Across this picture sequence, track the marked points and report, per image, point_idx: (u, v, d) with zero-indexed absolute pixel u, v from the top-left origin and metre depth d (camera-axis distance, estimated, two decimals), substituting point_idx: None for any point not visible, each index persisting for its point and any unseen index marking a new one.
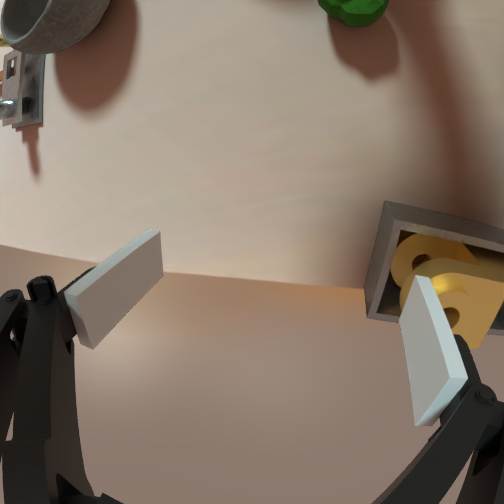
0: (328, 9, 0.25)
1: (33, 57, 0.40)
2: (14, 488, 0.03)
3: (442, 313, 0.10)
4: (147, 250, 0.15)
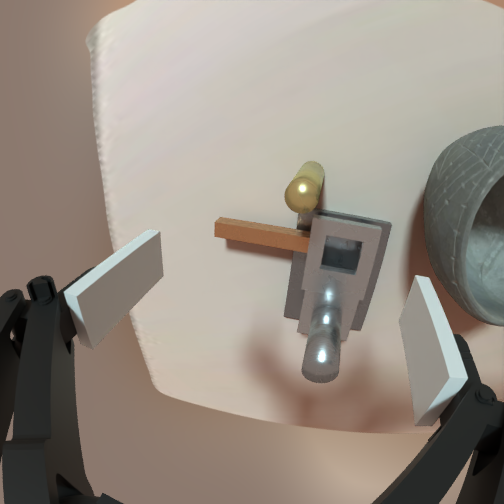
0: None
1: None
2: (14, 488, 0.03)
3: (442, 313, 0.10)
4: (147, 250, 0.15)
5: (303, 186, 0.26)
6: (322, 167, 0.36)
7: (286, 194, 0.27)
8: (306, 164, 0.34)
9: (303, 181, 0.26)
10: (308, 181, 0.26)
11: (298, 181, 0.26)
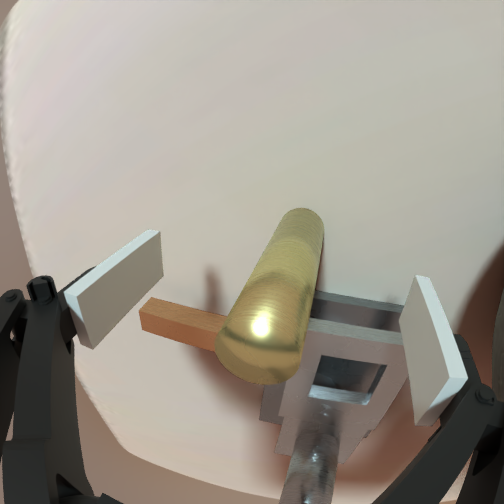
0: None
1: None
2: (14, 488, 0.03)
3: (443, 313, 0.10)
4: (147, 250, 0.15)
5: (260, 335, 0.10)
6: (320, 220, 0.20)
7: (218, 346, 0.10)
8: (288, 220, 0.18)
9: (259, 324, 0.09)
10: (274, 322, 0.09)
11: (246, 323, 0.09)
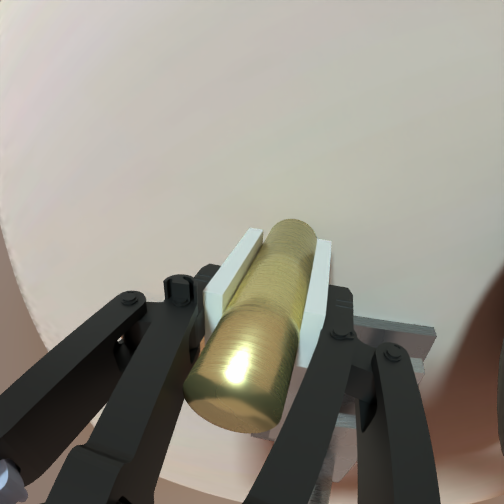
0: None
1: None
2: (63, 496, 0.03)
3: (329, 267, 0.13)
4: (256, 248, 0.16)
5: (233, 386, 0.08)
6: (313, 232, 0.18)
7: (187, 392, 0.08)
8: (277, 234, 0.16)
9: (231, 375, 0.07)
10: (249, 372, 0.08)
11: (215, 373, 0.08)
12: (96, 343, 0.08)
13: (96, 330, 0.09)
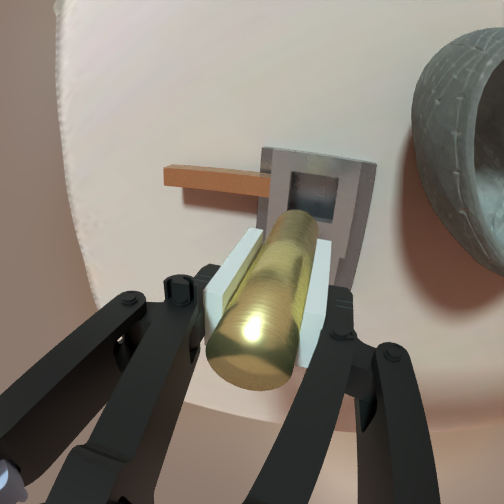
0: None
1: None
2: (63, 496, 0.03)
3: (329, 267, 0.13)
4: (256, 248, 0.16)
5: (251, 341, 0.09)
6: (315, 221, 0.19)
7: (210, 352, 0.10)
8: (283, 222, 0.18)
9: (250, 330, 0.09)
10: (265, 328, 0.09)
11: (237, 329, 0.09)
12: (96, 343, 0.08)
13: (96, 330, 0.09)
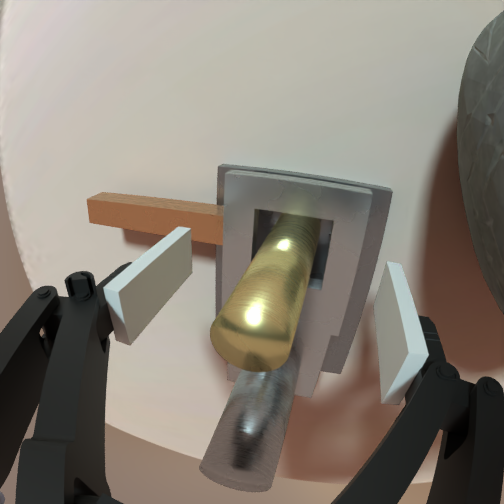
0: None
1: None
2: (28, 488, 0.03)
3: (410, 296, 0.11)
4: (180, 247, 0.15)
5: (251, 324, 0.10)
6: None
7: (214, 334, 0.11)
8: (285, 217, 0.19)
9: (251, 313, 0.10)
10: (264, 311, 0.10)
11: (238, 312, 0.10)
12: (24, 334, 0.08)
13: (22, 323, 0.08)
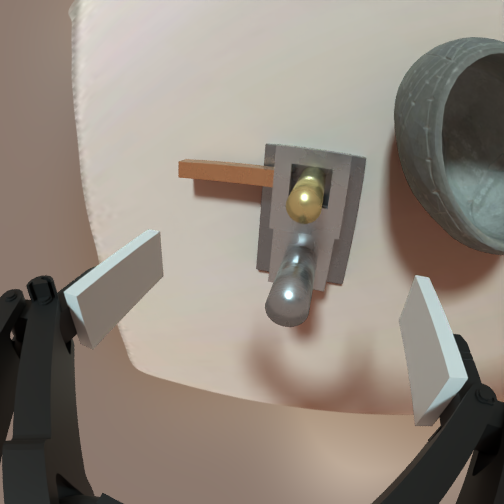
0: None
1: None
2: (14, 488, 0.03)
3: (442, 313, 0.10)
4: (147, 250, 0.15)
5: (305, 195, 0.25)
6: (323, 173, 0.35)
7: (287, 204, 0.25)
8: (307, 170, 0.33)
9: (305, 190, 0.24)
10: (311, 190, 0.25)
11: (300, 190, 0.25)
12: None
13: None
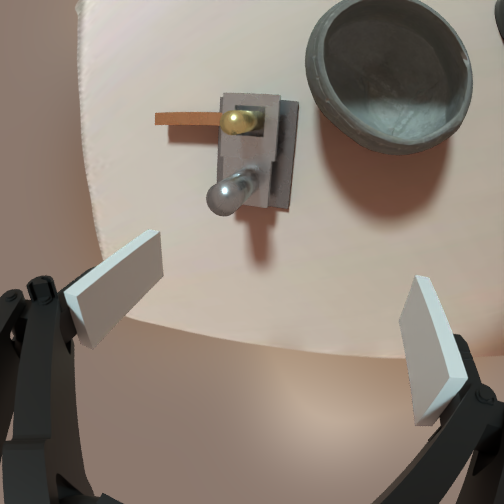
0: None
1: None
2: (14, 488, 0.03)
3: (442, 313, 0.10)
4: (147, 250, 0.15)
5: (232, 114, 0.33)
6: (264, 115, 0.43)
7: (221, 122, 0.33)
8: None
9: (232, 111, 0.33)
10: (236, 111, 0.33)
11: (229, 111, 0.33)
12: None
13: None
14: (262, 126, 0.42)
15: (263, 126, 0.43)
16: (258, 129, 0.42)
